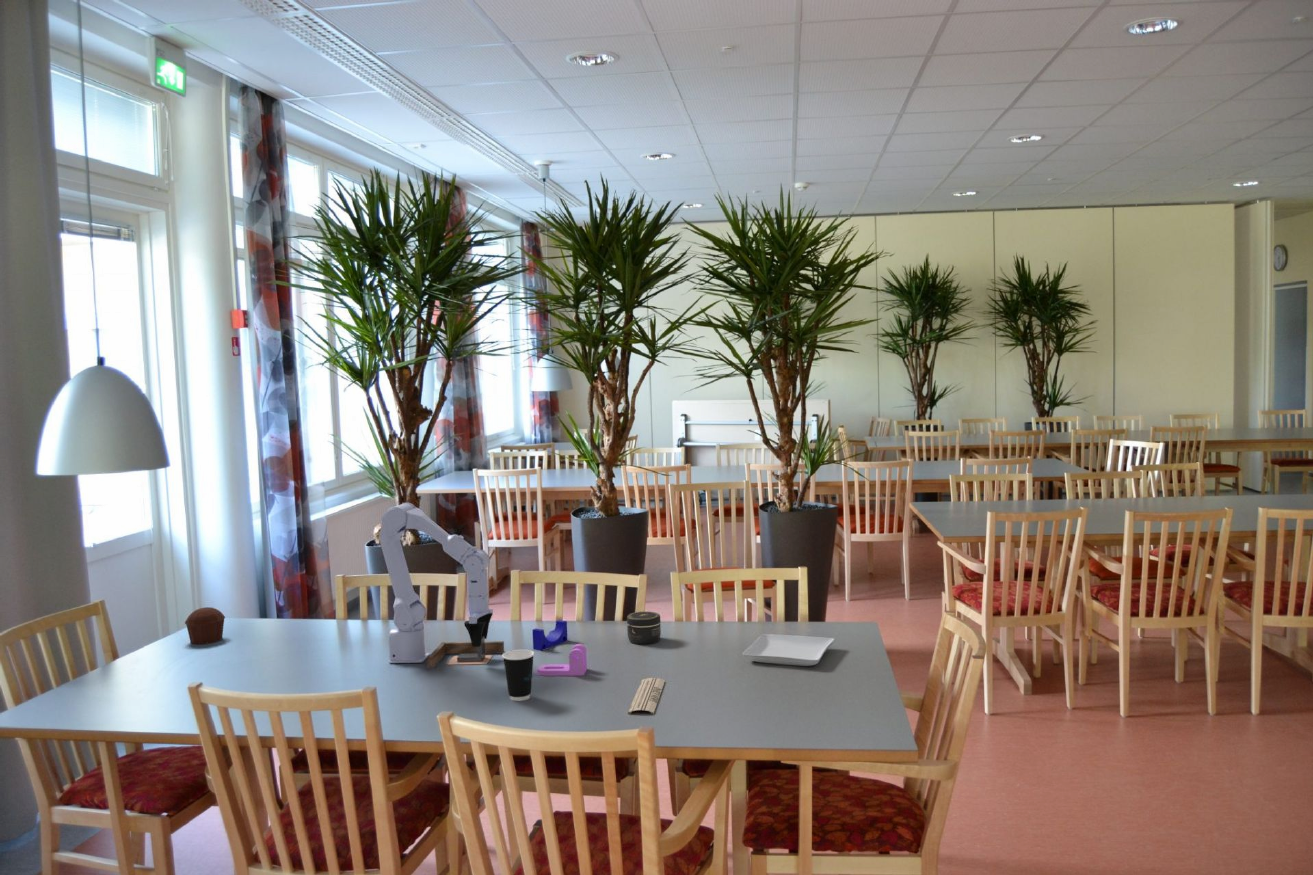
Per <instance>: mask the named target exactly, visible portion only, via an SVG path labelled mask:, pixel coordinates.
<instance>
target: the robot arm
mask: <svg viewBox="0 0 1313 875" xmlns="http://www.w3.org/2000/svg"><path fill="white" fill-rule="evenodd" d="M380 519H381V524H380V525H381V526H380V530H379V533H378V534H379V535H378V540H379V544H380V547H381V550H382V555H383V557H384V562H385V565H386V568H387V572H388V573H387V574H388V576H389V579H390V583H391V587H392V590H393V594H394V597H395V598H394V603H393V606H392V608H393V624H394V625H395V627H396V628H392V629H390V631H389V636H388V646H389V648H388V650H389V651H388V652H389V662H388V663H389V664H405V663H406V664H410V663H411V664H413V663H414V664H415V663H418V664H419V663H420V664H421V663H423V662H424V661H425V660H426V659H428V657H429V656H430V655H431V653H430V652H426V644H425V625H424V620H426V617H427V608H426V606H425V605H424V603H423V602H422V600H421V598H420V596H419V594H418V593H416V592H415V590H414V587H413V582H412V578H411V575H410V571H409V567H408V563H407V560H406V557H405V554H404V550H403V546H402V542H401V537H402V536H403V534H404V533H405V531H406V530H420V532H423V533H424V534H426V535H427V536H429V537H430V538H432V539H433V540H435V541H437V542H438V543H439V544H441V545H442V549H443V552H444V553H446V554H447V555H448V556H450V557H451V558H452V559H454V560H455V561H457V562H458V563H459V564H461V565H462V567H463V570H464V572H466V592H467V594H466V595H467V613H466V614H467V615H468V620H466V621H464V623H463V624H464V627H465V629H466V630H467V633H468V635H469V638H470V642H471V643H472V646H473V647H480V646H481V641H482V636H484V639H485V640H487V638H488V632H489V628H490V623H491V619H492V617H493V612H494V609H493V608H490V606H489V585H488V584H489V578H488V569H487V568H488V566H489V565H490V556H489V554H488V553H487V552H486V550H483V549H478V547H477V546H473V545H471V544H470V543H469V542H468V541H466V540H465V537H464V536H462V534H461V535H460V534H459V535H458V534H449V533H448V532H447V531H445V529H443V528H442V527H441V526H439V525H438V524H437V523H436V522H435V521H433V519H431V518H430V517H429V516H428V515H427V514H425V513H424V511H423V510H422V509H420V508H418V507H416V506H415V505H414V504H413V503H411V502H402V503H401V504H399V505H396V506H391V507H389V508H388V509H387V510H386V511H385V513H383V515H382V516H381V518H380Z"/></svg>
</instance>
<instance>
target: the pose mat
mask: <svg viewBox="0 0 1313 875" xmlns="http://www.w3.org/2000/svg"><path fill="white" fill-rule="evenodd" d="M458 656H459V655H453V657H452V658H451V659H450V660H449V661H448V662H447V664H446V666H460V665H461V666H465V665H466V666H467V665H468V666H469V665H471V666H472V665H488V663H489V662H490V660H491V659H492V657H493V654H485V658H484V660H483V661H482V662H457V657H458Z"/></svg>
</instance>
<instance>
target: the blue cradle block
mask: <svg viewBox="0 0 1313 875" xmlns="http://www.w3.org/2000/svg"><path fill="white" fill-rule="evenodd" d="M567 641H568V621H567V620H560V619H558V620H556V621H555V627H554V629H552V630H550V631H549V632H548V634H547V635H545V630H544V629H543V628H534V629H532V649H533V650H535V651H539V652H541V651H544V650H546V649H549V648H552V647H555V646H557V645H559V644H563V643H565V642H567Z"/></svg>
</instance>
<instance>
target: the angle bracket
mask: <svg viewBox="0 0 1313 875" xmlns="http://www.w3.org/2000/svg"><path fill="white" fill-rule="evenodd" d="M485 640H486V639H484V636H482V641H481V646H480V647H477V651H478V653H459V654H458V655H457V656H458V657H457V662H482V661H483V660H484V658H485V655H486V653H485V642H486V641H485Z"/></svg>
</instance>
